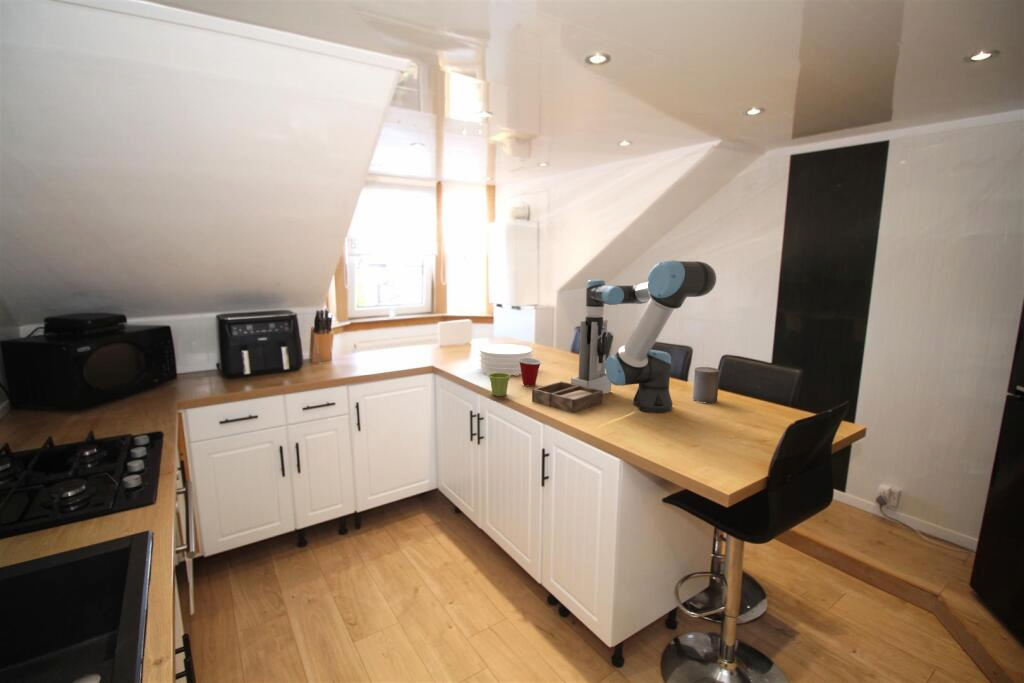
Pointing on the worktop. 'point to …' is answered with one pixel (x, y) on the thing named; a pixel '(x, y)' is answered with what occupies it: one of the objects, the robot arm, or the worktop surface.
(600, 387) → the holder
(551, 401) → the tray
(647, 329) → the robot arm
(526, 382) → the plastic cup
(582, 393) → the offcut top
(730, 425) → the worktop surface
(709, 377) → the pillar candle
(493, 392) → the plant pot
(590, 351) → the brochure
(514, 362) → the plate stack
